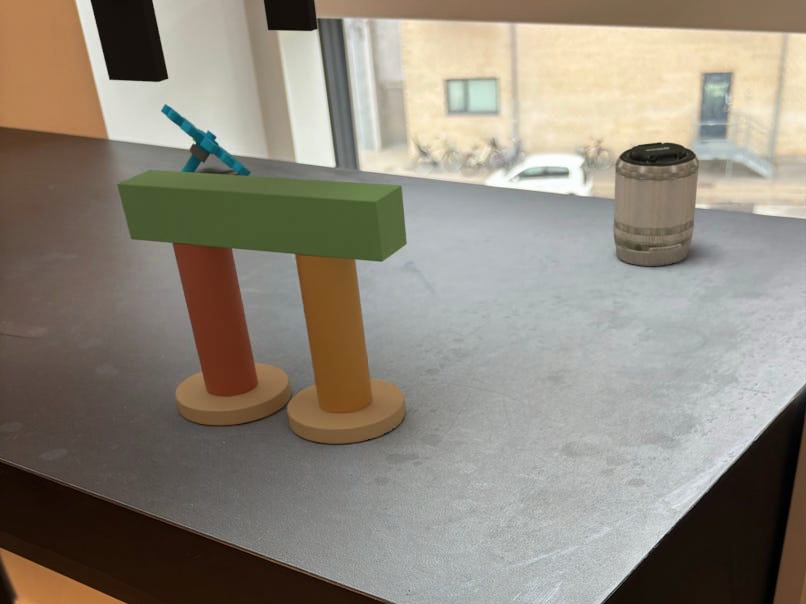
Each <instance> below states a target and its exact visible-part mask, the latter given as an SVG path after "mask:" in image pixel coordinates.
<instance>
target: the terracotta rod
mask: <svg viewBox="0 0 806 604" xmlns="http://www.w3.org/2000/svg"><path fill="white" fill-rule="evenodd" d="M171 244H172V247H173V248H172V249H173V252H174V257H175V262H176V266H177V269H178V270H177V271H178V273H179V278H180V283H181V287H182V291H183V296H184V299H185V304H186V309H187V313H188V316H189V317H188V318H189V322H190V325H191V326H190V327H191V331H192V335H193V339H194V343H195V348H196V352H197V356H198V361H199V365H200V370H201V371H199V372H196V373H194V374H193V375H190V376H189V377H187V378H185V379H184V380H183V381H182V382H181V383H180V384H178V386H177V387H176V390H175V394H174V397H175V400H176V404H177V408H178V412H179V413H180V415H181V416H182V417H183V418H185V419H186V420H188V421H190V422H193V423H196V424H200V425H206V426H233V425H240V424H246V423H251V422H254V421H258V420H261V419H264V418H266V417H268V416H271V415H273V414H275V413H276V412H278V411H279V410H281V409H283V408H284V407H285V406H286V405H288V403H289V401H290V400H291V398H292V390H291V383H290V378H289V376H288V374H287V373H286V372H285V371H284V370H283V369H281V368H279V367H277V366H274V365H270V364H267V363H258V362H255V359H254V354H253V350H252V344H251V339H250V333H249V329H248V322H247V318H246V313H245V309H244V308H245V307H244V303H243V298H242V291H241V288H240V282H239V277H238V273H237V267H236V263H235V257H234V252H233V248H223V247H211V246H200V245H189V244H178V243H171Z"/></svg>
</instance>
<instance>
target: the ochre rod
mask: <svg viewBox="0 0 806 604" xmlns="http://www.w3.org/2000/svg"><path fill="white" fill-rule="evenodd" d="M294 256H295V263H296V271H297V275H298V282H299V289H300V295H301V301H302V309H303V314H304V320H305V327H306V332H307V333H306V334H307V340H308V346H309V352H310V357H311V364H312V365H311V366H312V370H313V377H314V384H312V385H310V386H307V387H305V388H303V389H302V390H301V391H298V392H297V393H296V394H294V395H293V396H291V398H290V399H289V401H288V402H287V407H286V412H287V418H288V423H289V427H290V429H291V430H292V432H293V433H295V434H296V435H297V436H298V437H301V438H302V439H305V440H307V441H311V442H315V443H319V444H329V445H330V444H331V445H343V444H354V443H360V442H365V441H369V440H372V439H375V438H378V437H381V436H384V435H385V434H384V433H386V434H388V433H390V432H391V431H392V430H391V429H393V428H394V427H396V426H397V425H398V424H399V425H401V423H402V422H403V421H402V420H404V419H405V416H406V414H407V412H406V411H407V409H406V400H405V399H406V398H405V394H404V392H403V391H402V389H400V387H399V386H397V385H396V384H394V383H392V382H389V381H386V380H383V379H379V378H372V377H371V376H370V375H371V374H370V368H369V360H368V359H369V358H368V352H367V343H366V335H365V326H364V319H363V311H362V303H361V294H360V285H359V279H358V278H359V277H358V271H357V261H356V259H345V258H333V257H322V256H311V255H300V254H294ZM405 413H406V414H405ZM403 418H404V419H403ZM401 421H402V422H401ZM399 425H398V426H399ZM398 426H397V427H398ZM397 427H396V428H397ZM394 429H395V428H394ZM394 429H393V430H394ZM387 432H388V433H387ZM368 439H369V440H368Z"/></svg>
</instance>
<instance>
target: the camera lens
mask: <svg viewBox="0 0 806 604" xmlns="http://www.w3.org/2000/svg"><path fill="white" fill-rule="evenodd" d="M614 167H615V171H614V175H615V176H614V198H613V199H614V201H613V240H614V246H615V251H616V256H617V258H618V259H619V260H621V261H622V262H624V263H627V264H630V265H635V266H643V267H644V266H645V267H658V266H668V265H672V263H673V264H676V263H680V262H681V261H683V260H684V259H685V258H687V256H688V253H689V249H690V246H691V244H692V239H693V234H694V229H695V216H696V215H695V214H696V203H697V192H698V191H697V189H698V178H699V176H698V175H699V168H700V161H699V159H698V156H697V154H696V153H695V152H694V151H693V150H691V149H690V148H687V147H685V146H683V145H682V144H678V143H675V142H669V141H668V142H660V141H658V142H651V143H642V144H638V145H635V146H634V145H633V146H632V147H631V148H628V149H626V150H625V151H623V152H622V153H621V154H620V155H619V156H618V158H617V159H616V161H615V165H614Z"/></svg>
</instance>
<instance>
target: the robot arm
mask: <svg viewBox="0 0 806 604" xmlns="http://www.w3.org/2000/svg"><path fill="white" fill-rule="evenodd" d="M90 4H91V9H92V12H93V17H94V21H95V26H96V30H97V34H98V38H99V42H100V46H101V47H100V48H101V50H102V55H103V59H104V63H105V68H106V72H107V76H108V81H122V82H123V81H125V82H147V83H148V82H150V83H160V82H163V81H166V80H169V79H170V78H169V74H168V68H167V64H166V63H167V62H166V59H165V54H164V50H163V44H162V40H161V35H160V29H159V26H158V20H157V15H156V10H155V6H154V0H90ZM263 6H264V13H265V19H266V25H267V31H280V32H281V31H282V32H283V31H284V32H313V31H316V30H318V28H319V27H318V20H317V11H316V3H315V0H263Z"/></svg>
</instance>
